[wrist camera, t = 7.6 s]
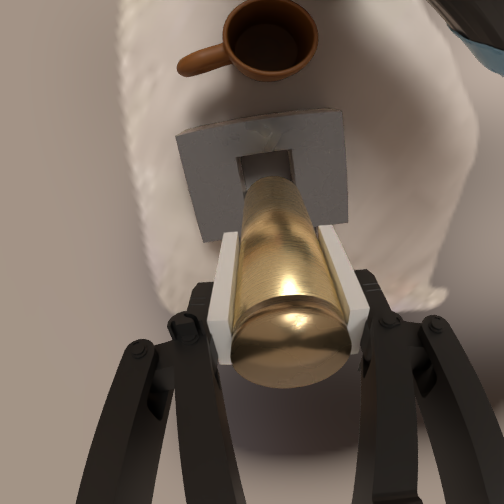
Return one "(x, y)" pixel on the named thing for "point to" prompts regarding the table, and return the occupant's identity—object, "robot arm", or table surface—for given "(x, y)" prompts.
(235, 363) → the gold metal cylinder
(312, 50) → the mug
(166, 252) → the table surface
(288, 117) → the housing
